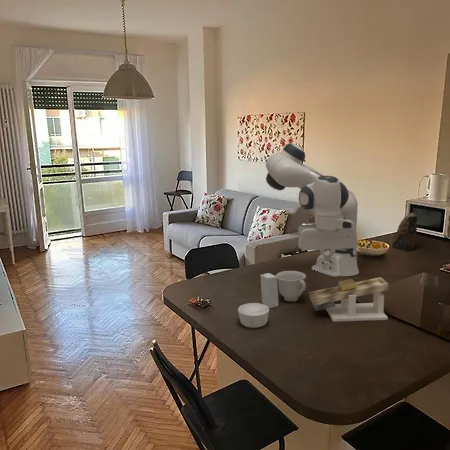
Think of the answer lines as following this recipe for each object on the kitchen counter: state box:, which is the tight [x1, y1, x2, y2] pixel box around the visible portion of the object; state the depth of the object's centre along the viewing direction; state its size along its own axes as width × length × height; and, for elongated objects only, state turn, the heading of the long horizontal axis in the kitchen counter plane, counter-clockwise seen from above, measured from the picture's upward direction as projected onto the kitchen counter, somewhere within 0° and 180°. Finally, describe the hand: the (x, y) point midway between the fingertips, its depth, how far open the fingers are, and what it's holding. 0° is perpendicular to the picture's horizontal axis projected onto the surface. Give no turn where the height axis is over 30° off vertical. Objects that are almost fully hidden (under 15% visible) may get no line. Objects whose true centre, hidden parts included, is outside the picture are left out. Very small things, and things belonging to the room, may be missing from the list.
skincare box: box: [259, 272, 279, 309], centre depth 160 cm, size 6×4×12 cm
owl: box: [391, 212, 418, 252], centre depth 231 cm, size 13×13×20 cm
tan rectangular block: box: [337, 278, 356, 292], centre depth 148 cm, size 5×4×4 cm
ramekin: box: [237, 302, 270, 329], centre depth 145 cm, size 11×11×5 cm
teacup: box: [275, 270, 307, 302], centre depth 164 cm, size 12×15×10 cm
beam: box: [308, 276, 390, 312], centre depth 148 cm, size 27×8×5 cm, turn 90°
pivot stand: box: [325, 291, 389, 322], centre depth 149 cm, size 19×13×9 cm
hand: (327, 260), depth 146 cm, fingers closed
